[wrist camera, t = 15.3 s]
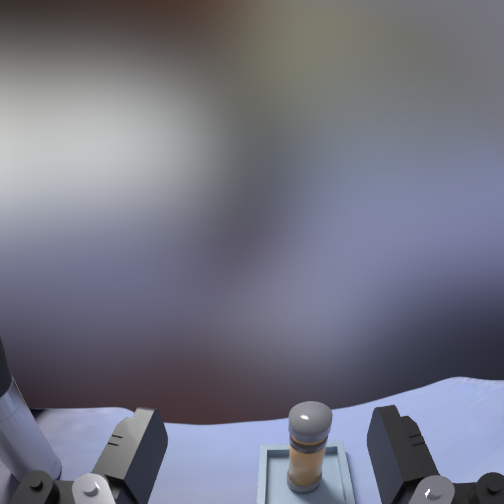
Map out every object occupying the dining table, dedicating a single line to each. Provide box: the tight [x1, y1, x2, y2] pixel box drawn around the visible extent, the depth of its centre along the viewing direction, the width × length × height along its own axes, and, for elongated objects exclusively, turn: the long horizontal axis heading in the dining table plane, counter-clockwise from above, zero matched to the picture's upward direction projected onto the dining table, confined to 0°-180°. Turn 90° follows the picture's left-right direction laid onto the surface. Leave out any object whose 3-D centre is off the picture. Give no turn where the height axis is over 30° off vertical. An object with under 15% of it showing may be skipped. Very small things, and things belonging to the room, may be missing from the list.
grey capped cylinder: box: [287, 401, 332, 494], centre depth 31 cm, size 5×5×14 cm
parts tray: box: [257, 441, 355, 504], centre depth 33 cm, size 12×12×2 cm
